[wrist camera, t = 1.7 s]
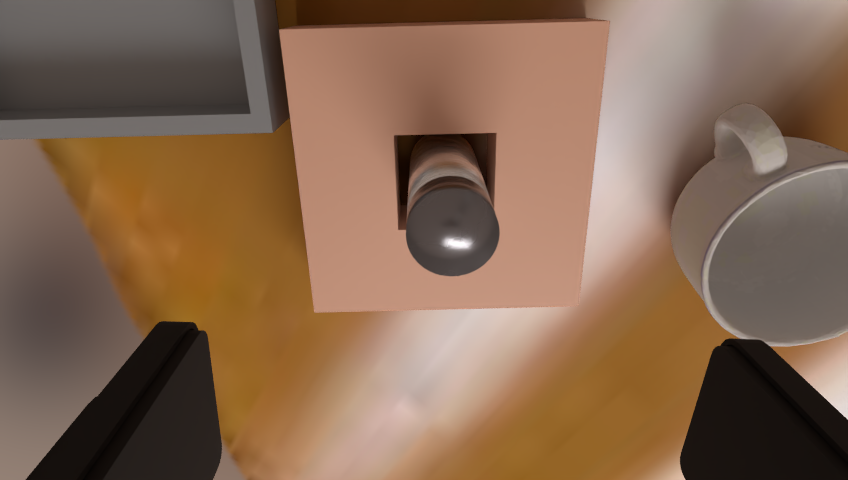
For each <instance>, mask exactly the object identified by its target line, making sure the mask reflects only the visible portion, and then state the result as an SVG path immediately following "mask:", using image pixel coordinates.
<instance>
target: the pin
mask: <svg viewBox="0 0 848 480" xmlns="http://www.w3.org/2000/svg"><path fill="white" fill-rule="evenodd" d="M499 236H500V228H499V223H498V220H497V217H496V214H495V211H494V208H493V205H492V202H491V200H490V197H489V194H488V191H487V188H486V185H485V182H484V180H483V177H482V174H481V171H480V168H479V165H478V162H477V160H476V157H475V154H474V151H473V149H472V147H471V145H470V143H469V142H468V141H467V140H466V139H465V138H464V137H463V136H461V135H460V134H428V135H425V136H424V137H422V138H421V139H420V140H419V141H418V142H417V143H416V145H415V146H414V148H413V150H412V153H411V157H410V171H409V188H408V205H407V222H406V242H407V246H408V249H409V251H410V253H411V255H412V256H413V258H414V259H415V260H416V262H418V263H419V264H420V265H421V266H422V267H423V268H425V269H426V270H428V271H430V272H432V273H435V274H438V275H442V276H461V275H465V274H468V273H471V272H473V271H475V270H477V269H479V268H480V267H482V266H483V265H484V264H485V263H486V262H487V261H488V260H489V259H490V258H491V257H492V255H493V254H494V252H495V250H496V248H497V245H498V242H499Z"/></svg>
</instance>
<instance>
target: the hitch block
mask: <svg viewBox="0 0 848 480" xmlns="http://www.w3.org/2000/svg"><path fill="white" fill-rule="evenodd" d="M609 25H610V21H606V20H598V19H590V18H572V19H534V20H495V21H457V22H418V23H380V24H341V25H302V26H293V27H288V28H284V29H279V33H280V41H281V49H282V57H283V65H284V73H285V81H286V89H287V97H288V105H289V113H290V121H291V129H292V137H293V145H294V153H295V161H296V169H297V177H298V185H299V192H300V200H301V208H302V216H303V224H304V232H305V240H306V248H307V256H308V264H309V272H310V280H311V288H312V296H313V304H314V312H356V311H397V310H439V309H481V308H522V307H564V306H579V298H580V289H581V280H582V271H583V262H584V252H585V243H586V234H587V225H588V216H589V207H590V198H591V189H592V180H593V171H594V161H595V152H596V143H597V134H598V125H599V116H600V107H601V98H602V89H603V80H604V70H605V61H606V52H607V43H608V34H609ZM468 133H487V172H486V188H487V191H488V194H489V197H490V200H491V202H492V205H493V208H494V211H495V214H496V217H497V220H498V223H499V228H500V236H499V242H498V245H497V248H496V250H495V252H494V254H493V255H492V257H491V258H490V259H489V260H488V261H487V262H486V263H485V264H484V265H483V266H482V267H480V268H479V269H477V270H475V271H473V272H471V273H468V274H465V275H461V276H442V275H438V274H435V273H432V272H430V271H428V270H426V269H425V268H423V267H422V266H421V265H420V264H419V263H418V262H416V260H415V259H414V258H413V256H412V255H411V253H410V251H409V249H408V246H407V242H406V222H407V205H400V183H399V161H398V139H397V135H428V134H468Z"/></svg>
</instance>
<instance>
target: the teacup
mask: <svg viewBox="0 0 848 480" xmlns="http://www.w3.org/2000/svg"><path fill="white" fill-rule="evenodd" d="M714 138H715V145H716V146H715V149H714V155H715V158H714V159H712V160H711V161H709V162H708V163H707V164H706V165H705V166H703V167H702V168H701V169H700V170H699V171H698V172H697V173H696V174H695V175H694V176H693V177H692V178H691V180H690V181H689V182H688V183H687V185H686V186H685V188H684V189H683V191H682V193H681V194H680V196H679V198H678V200H677V202H676V205H675V208H674V211H673V215H672V221H671V242H672V247H673V251H674V254H675V257H676V259H677V261H678V263H679V265H680V267H681V269H682V271H683V272H684V274H685V276H686V277H687V279H688V280H689V282H690V283H691V284H692V286H693V287H694V289H695V290H696V291H697V293H698V294H699V295H700V297H701V298H702V299H703V301H704V302H705V305H706V307H707V309H708V311H709V312H710V314H711V315H712V317H713V318H714V319H715V320H716V321H717V322H718V323H719V324H720V325H721V326H722V327H723V328H724V329H726V330H727V331H729V332H730V333H732V334H733V335H735V336H737V337H739V338H741V339H758V340H762V341H764V342H765V343H767V344H768V345H769V346H796V345H804V344H811V343H815V342H818V341H823V340H827V339H831V338H835V337H838V336H840V335H841V334H843V333H845V332H847V331H848V153H846V152H844V151H841V150H839V149H836V148H834V147H831V146H828V145H825V144H822V143H819V142H816V141H812V140H808V139H802V138H796V137H783V136H782V134H781V132H780V130H779V128H778V127H777V125H776V124H775V122H774V121H773V120H772V119H771V118H770V117H769V116H768V114H766V113H765V112H764V111H763V110H762V109H760V108H759V107H757V106H755V105H753V104H748V103H744V104H739V105H736V106H734V107H732V108H730V109H728V110H727V111H725V112H724V113H722V114H721V115H720V116H719V117H718V118H717V120H716V122H715V126H714Z"/></svg>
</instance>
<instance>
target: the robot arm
mask: <svg viewBox="0 0 848 480" xmlns="http://www.w3.org/2000/svg"><path fill="white" fill-rule="evenodd" d="M221 451H222V443H221V435H220V428H219V420H218V412H217V405H216V397H215V389H214V382H213V374H212V366H211V358H210V351H209V343H208V337H207V334H206V332H205V331H198V328H197V326H196V324H195V323H193V322H167V321H162V322H159V323H158V324H157V325H156V326H155V327H154V328H153V329H152V331H151V332H150V333H149V334H148V336H147V337H146V338H145V339H144V340H143V342H142V343H141V344H140V346H139V347H138V348H137V349H136V350H135V351H134V353H133V354H132V355H131V356H130V358H129V359H128V360H127V361H126V362H125V364H124V365H123V366H122V367H121V369H120V370H119V371H118V372H117V373H116V375H115V376H114V377H113V378H112V380H111V381H110V382H109V383H108V384H107V386H106V387H105V388H104V389H103V391H102V392H101V393H100V394H99V395H98V396H97V397H95V398H94V399H93V400H92V401H91V402H90V403H89V404H88V405H87V406H86V407H85V409H84V410H83V411H82V412H81V413H80V415H79V416H78V417H77V418H76V419H75V421H74V422H73V423H72V424H71V425H70V427H69V428H68V429H67V430H66V431H65V433H64V434H63V435H62V436H61V438H60V439H59V440H58V441H57V442H56V444H55V445H54V446H53V447H52V448H51V450H50V451H49V452H48V453H47V455H46V456H45V457H44V458H43V459H42V461H41V462H40V463H39V464H38V465H37V467H36V468H35V469H34V470H33V471H32V473H31V474H30V475H29V476H28V478H27V479H26V480H213V478H214V476H215V473H216V471H217V468H218V466H219V463H220V459H221V453H222V452H221ZM680 465H681V470H682V473H683V475H684V478H685V479H686V480H848V420H847V419H846V418H845V417H844V416H843V415H842V414H841V413H840V412H839V411H838V410H837V409H836V408H835V407H833V406H832V405H831V404H830V403H829V402H828V401H827V400H826V399H825V398H824V397H823V396H822V395H821V394H820V393H819V392H818V391H816V390H815V389H814V388H813V387H812V386H811V385H810V384H809V383H808V382H807V381H806V380H805V379H804V378H803V377H802V376H801V375H799V374H798V373H797V372H796V371H795V370H794V369H793V368H792V367H791V366H790V365H789V364H788V363H787V362H786V361H785V360H784V359H782V358H781V357H780V356H779V355H778V354H777V353H776V352H775V351H774V350H773V349H772V348H771V347H770V346H769V345H768V344H767V343H765V342H764V341H762V340H758V339H726V340H725V341H724V342H723V343H722V344H721V346H717V347H716V348H715V349H714V350H713V352H712V354H711V358H710V361H709V364H708V367H707V371H706V374H705V377H704V380H703V384H702V387H701V390H700V393H699V397H698V400H697V403H696V406H695V410H694V413H693V416H692V419H691V423H690V426H689V429H688V432H687V436H686V439H685V442H684V445H683V449H682V452H681V456H680Z"/></svg>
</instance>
